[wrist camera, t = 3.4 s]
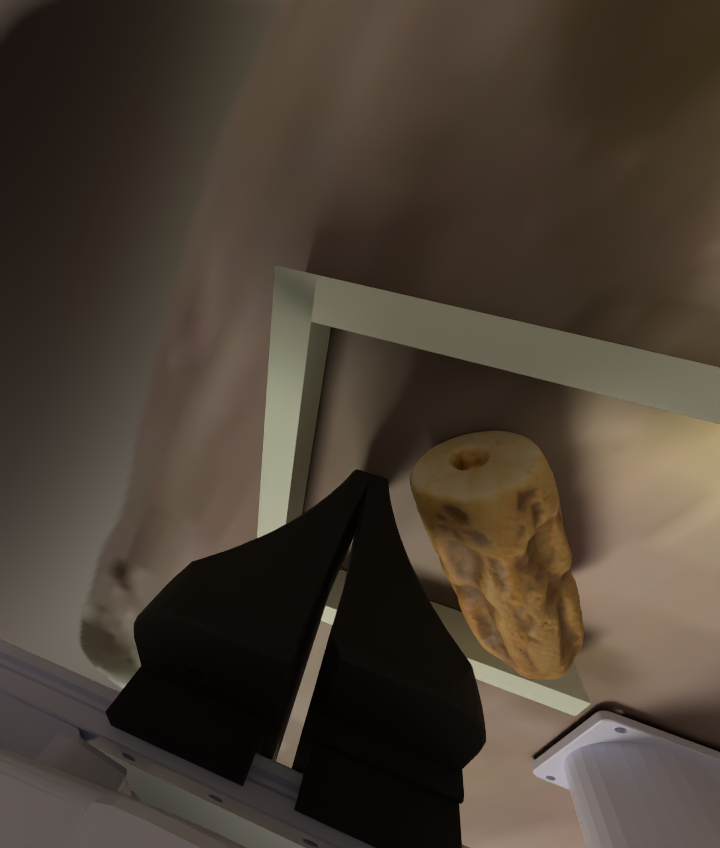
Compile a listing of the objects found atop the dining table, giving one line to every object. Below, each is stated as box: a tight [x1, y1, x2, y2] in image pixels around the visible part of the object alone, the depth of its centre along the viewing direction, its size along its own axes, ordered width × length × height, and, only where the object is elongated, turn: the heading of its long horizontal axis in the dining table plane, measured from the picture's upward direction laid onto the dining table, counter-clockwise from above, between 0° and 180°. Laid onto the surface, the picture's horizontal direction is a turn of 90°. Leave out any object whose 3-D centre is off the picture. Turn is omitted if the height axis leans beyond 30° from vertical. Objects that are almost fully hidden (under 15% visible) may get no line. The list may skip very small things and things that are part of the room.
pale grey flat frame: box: [257, 265, 720, 716], centre depth 11 cm, size 15×14×2 cm
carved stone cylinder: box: [410, 431, 584, 679], centre depth 10 cm, size 8×4×4 cm, turn 23°
